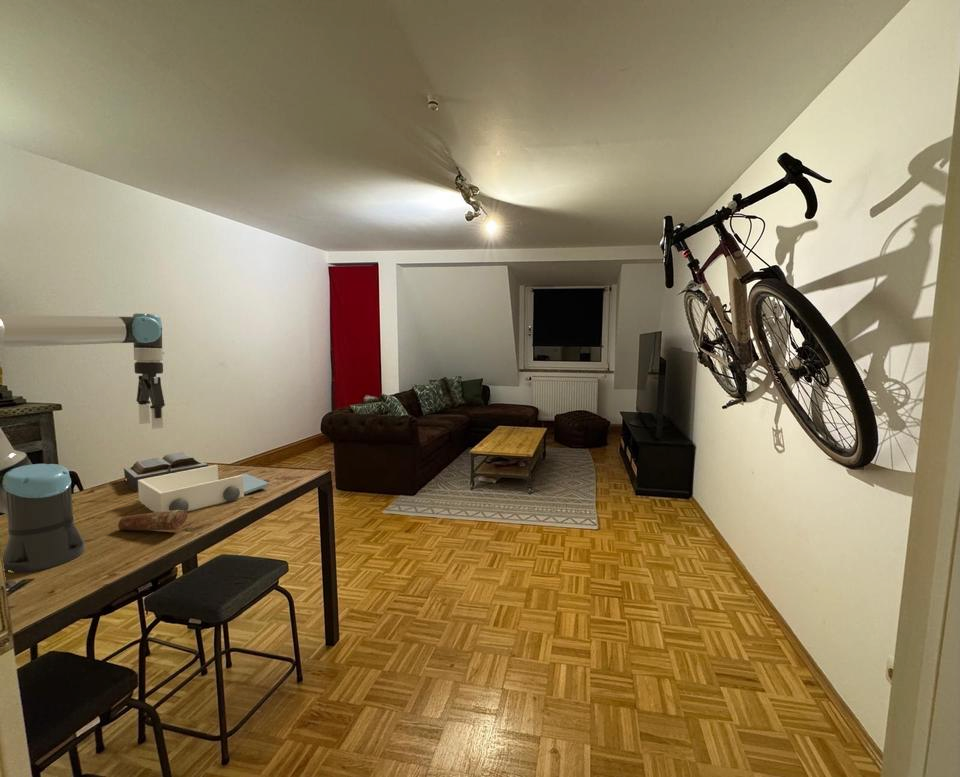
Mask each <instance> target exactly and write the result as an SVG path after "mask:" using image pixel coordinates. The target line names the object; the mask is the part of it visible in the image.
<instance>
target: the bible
mask: <svg viewBox="0 0 960 777" xmlns="http://www.w3.org/2000/svg"><path fill="white" fill-rule="evenodd" d="M208 466H209V464H208V463H206V462H204V461H202V460H200V459H199V458H196V457H194V456H190V455H189V454H187V453H186V452H184V451H179V452H173V453H168V454H165V455H164V456H162V458H160V457H151V458H148V459H143V460H137V461H136V462H134V464H133V465H132V466H127V467H123V472H124V479H125V478H127V481H125V483H126V482H127V483H128V484H129V485H130V486H131V487H132V488H133V489H134V490H135V491H138V480H140V479H145V478H151V477H156V476H161V475H166V474H171V473H177V472H182V471H187V470H192V469H197V468H202V467H208ZM127 483H126V484H127ZM128 484H127V485H128ZM129 485H128V486H129ZM130 486H129V487H130ZM131 487H130V488H131ZM132 488H131V489H132ZM133 489H132V490H133ZM134 490H133V491H134ZM135 491H134V492H135ZM138 492H139V491H138Z"/></svg>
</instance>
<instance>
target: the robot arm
mask: <svg viewBox="0 0 960 777" xmlns="http://www.w3.org/2000/svg"><path fill="white" fill-rule="evenodd" d="M103 344H104V345H105V344H132V345H133V360H134V361H136V362H134V365H133V366H134V373H135V374H137V375H138V374H139V375H138V384H137V385H138V386H137V392H136V402H137V404H138V419H139V421H138V422H139V424H140V425H144V424H146V425H147V424H150V423H151V429H152V430H154V429H163V428H164V426H163V425H164V421H163V408H164V407H166V403H165V400H164V394H163V389H162V383H161V379H162V378H161V377H160V376H157V374H158V375H159V374H161V375H162V374H163V373H164V363H163V362H162V361H163V356H164V354H165V351H163V325H162V317H161V316H160V315H158V314H152V313H137V312H136V313H133V315H132V316H113V315H112V316H109V315H108V316H106V315H105V316H102V315H100V316H99V315H97V316H96V315H92V316H91V315H89V316H88V315H84V316H83V315H34V314H33V315H29V314H28V315H25V314H24V315H23V314H19V315H18V314H17V315H13V314H0V349H2V348H3V349H4V348H22V347H23V348H26V347H46V346H47V347H50V346H51V347H52V346H53V347H54V346H75V345H76V346H80V345H103ZM150 404H151V405H150ZM150 410H151V411H150ZM150 412H151V413H150ZM150 414H151V415H150ZM150 416H151V419H150ZM72 497H73V496H72V478H71V476H70V471H69V469H68V468H67V467H65V466H63V465H60V464H56V463H49V464H47V463H35V464H33V462H31V460H30V458H29V456H28V454H27V453H26V452H24V451H20V450H15V449H14V447H13V446H12V444H11V442H10V441H9V439H8V438H7V436H6V435H5V433H4V431H3V430H2V427H0V513H1V514H5V515H6V520H7V529H8V530H7V531H8V538H7V541H6V544H5V546H4V550H3V552H2V555H1V557H2V556H3V563H4V569H5V572H4V573H7V574H9V573H8V570H11V571H13V572H14V573H13V574H26V573H33V572H38V571H43V570H46V569H49V568H53V567H56V566H60V565H63V564H65V563H68V562H70V561H73V560H74V559H76V558H78V557H79V556H81V555H82V554H83V553H84V552H85V550H86V545H85V543H86V542H85V540H84V538H83V536H82V535H81V533H80V531H79V530H78V527H77V526H76V525H75V521H74V512H73V511H74V509H73V498H72Z"/></svg>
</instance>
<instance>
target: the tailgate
mask: <svg viewBox="0 0 960 777" xmlns="http://www.w3.org/2000/svg"><path fill="white" fill-rule="evenodd" d="M239 475H243V484H244V495H246V494H249V493H252V492H254V491H257V490H261V489H264V488H266V487H268V486H270V483H269V482H268V481H265V480H263V479H260V478H259V477H256V476H252V475H250V474H247V473H242V474H239ZM239 475H237V476H239Z"/></svg>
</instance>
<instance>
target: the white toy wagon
mask: <svg viewBox="0 0 960 777" xmlns="http://www.w3.org/2000/svg"><path fill="white" fill-rule="evenodd" d="M241 498H245V494H244V484H243V475H241V474H239V476H238V475H235V476H231V477H226V478H222V479H219V466H218V464H214V465H208V467H202V468H197V469H192V470H187V471H182V472H177V473H171V474H166V475H161V476H156V477H151V478H145V479H140V480H138V502H139V501H140V502H141V503H142V504H144V505H145V506H146V507H148V508H149V511H152V512H153V513H154V512H163V511H173V510H186V511H187V512H189V511H190V512H191V511H194V510H198V509H202V508H206V507H210V506H214V505H218V504H223V503H226V502H228V503H229V502H230V503H231V502H235V501H236V500H238V499H241ZM141 503H140V504H141ZM142 504H141V505H142ZM145 506H144V507H145ZM146 507H145V508H146ZM148 508H147V509H148Z"/></svg>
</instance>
